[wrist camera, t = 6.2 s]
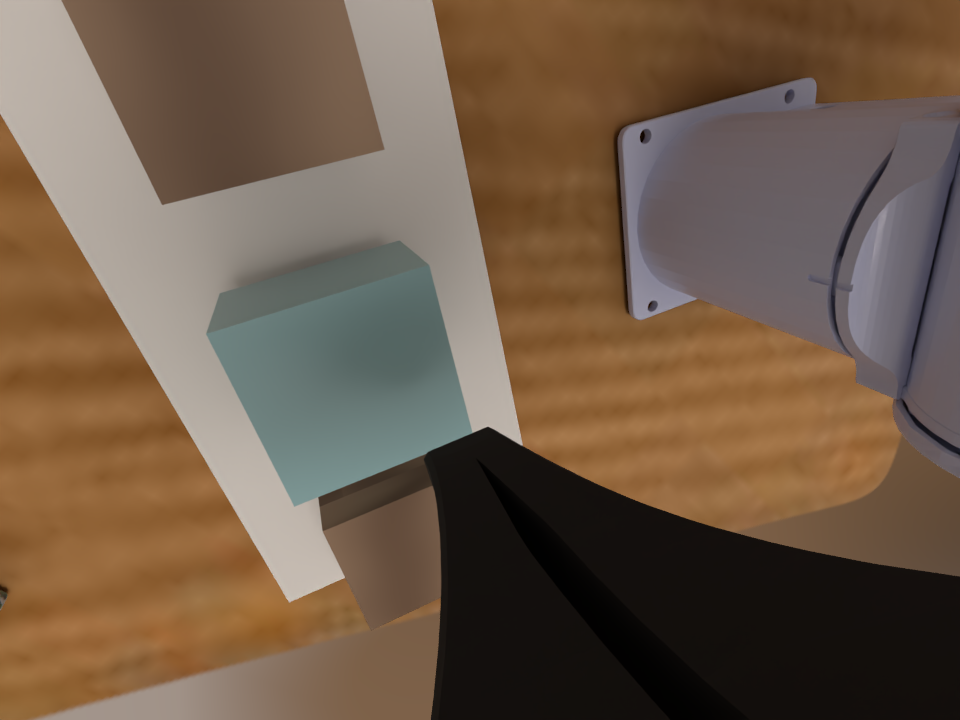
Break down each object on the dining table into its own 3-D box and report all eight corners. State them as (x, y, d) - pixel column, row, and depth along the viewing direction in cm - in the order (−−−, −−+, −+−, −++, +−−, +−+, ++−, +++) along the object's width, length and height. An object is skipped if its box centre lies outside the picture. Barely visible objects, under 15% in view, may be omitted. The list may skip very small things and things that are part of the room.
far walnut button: (443, 422, 19) (471, 469, 17) (470, 515, 22) (499, 569, 19) (315, 471, 18) (322, 531, 15) (358, 564, 21) (371, 630, 18)
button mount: (397, -86, 14) (431, -145, 11) (518, 475, 24) (553, 523, 21) (-52, -24, 12) (-164, -78, 9) (288, 574, 22) (290, 645, 18)
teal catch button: (399, 240, 14) (428, 265, 12) (440, 386, 17) (473, 434, 14) (219, 293, 13) (206, 333, 11) (290, 441, 16) (294, 506, 13)
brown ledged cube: (301, -69, 12) (309, -127, 10) (364, 147, 15) (384, 149, 12) (78, -38, 11) (15, -93, 8) (184, 191, 14) (161, 205, 11)
